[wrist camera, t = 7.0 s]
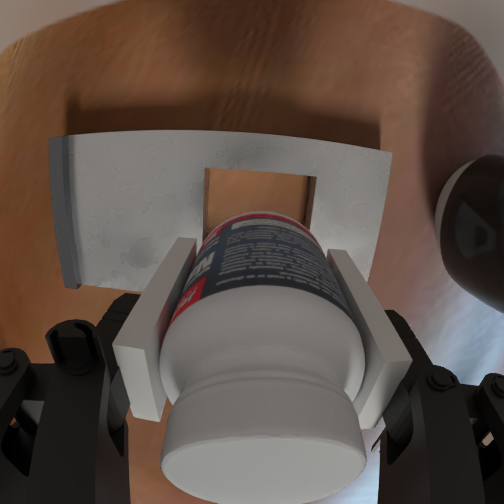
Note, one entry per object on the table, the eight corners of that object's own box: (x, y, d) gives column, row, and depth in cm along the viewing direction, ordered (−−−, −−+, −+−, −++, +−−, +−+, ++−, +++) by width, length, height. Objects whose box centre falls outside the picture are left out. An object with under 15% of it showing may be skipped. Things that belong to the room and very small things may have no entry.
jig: (81, 271, 22) (65, 287, 20) (70, 135, 18) (48, 138, 15) (352, 293, 23) (363, 313, 20) (380, 150, 18) (398, 154, 16)
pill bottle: (204, 198, 11) (99, 370, 3) (337, 221, 12) (457, 397, 4) (192, 312, 13) (142, 498, 5) (305, 328, 14) (338, 512, 6)
